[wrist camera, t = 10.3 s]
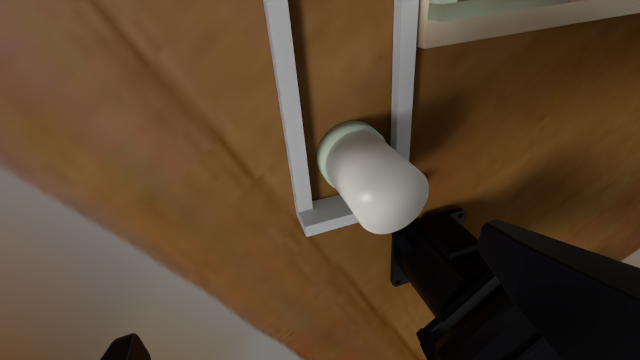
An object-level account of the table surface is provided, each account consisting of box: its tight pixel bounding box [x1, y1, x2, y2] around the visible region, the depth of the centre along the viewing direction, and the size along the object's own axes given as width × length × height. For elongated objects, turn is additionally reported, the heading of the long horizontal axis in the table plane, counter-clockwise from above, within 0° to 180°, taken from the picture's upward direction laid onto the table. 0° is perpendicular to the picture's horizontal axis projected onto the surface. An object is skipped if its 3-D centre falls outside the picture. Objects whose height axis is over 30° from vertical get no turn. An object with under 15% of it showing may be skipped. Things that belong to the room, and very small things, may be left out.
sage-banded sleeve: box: [316, 120, 429, 234], centre depth 19 cm, size 4×4×6 cm
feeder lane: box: [263, 0, 419, 237], centre depth 19 cm, size 16×8×2 cm, turn 5°
